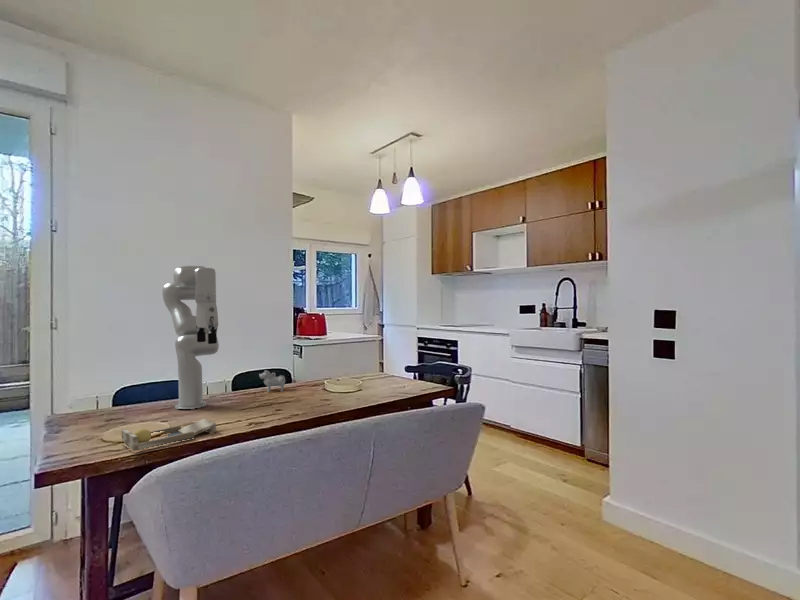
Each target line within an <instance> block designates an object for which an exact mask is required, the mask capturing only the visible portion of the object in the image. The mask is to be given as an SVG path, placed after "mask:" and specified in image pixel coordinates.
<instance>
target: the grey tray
mask: <svg viewBox="0 0 800 600" xmlns="http://www.w3.org/2000/svg"><path fill="white" fill-rule="evenodd" d="M181 428H182V426H181V425H174V426H169V427H165V428H160V429H156V430H152V431H150V433H153V432H160V431H165V434H167V433H172V432H177V430H179V429H181ZM134 434H135V433H132V432H131V431H129V430H127V429H121V440H122V439H123V442H124V443H125V444H126V445H127V446H128V447H130V448H131V449H132V450H134V451H135V450H140V449H144V448H149V447H154V446H157V445H161V444H166V443H170V442H174V441H180V440H183V439H184V440H185V439H186V440H187V439H192V438H194V439H195V435H194V432H193V431H192V432H187V433H183V434H179V435H174V436H170V437H165V438H161V439H157V440H152V441H148V442H143V443H139V444H138V436H136V435H134ZM191 437H192V438H191Z"/></svg>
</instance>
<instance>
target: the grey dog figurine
mask: <svg viewBox="0 0 800 600" xmlns="http://www.w3.org/2000/svg"><path fill="white" fill-rule="evenodd" d="M258 375H259V378H260V379H261V380H263V383H264V385H265V386H267V391H266V392H267V393H270V392H271V388H272V386H273V387H274V386H276V387H280V392H284V387H285V383H286V377H285V375H279V376H276V372H272V373H271V372H270V371H269V370H264V371H263V372H262V373H258Z"/></svg>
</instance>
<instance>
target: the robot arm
mask: <svg viewBox="0 0 800 600" xmlns="http://www.w3.org/2000/svg"><path fill="white" fill-rule="evenodd" d="M216 275H217V274H216V269H215V268H212V267H206V266H203V265H180V266H178V267H176V268H174V271H173V282H172V281H171V282H168V283H165V284H164V285H163V287H162V291H161V293H162V300H163V302H164V305H165V307H166V309H167V310H168V311H169V314H170V315H171V319H172V323H173V327H174V331H175V333H176V336H178V338H176V339H175V342H174V343H175V345H174V346H175V353H176V358H177V359H176V360H177V373H178V376H177V377H178V381H177V382H178V403H177V404H175V405H174V409H175V410H178V409H191V410H196V409H195V408H198V409H202V408H204V407H206V406H207V401H206V400H203V367H202V363H201V362H200V361H199V360H198V359H197V358H196V357H198V356H199V357H200V356H209V355H210V356H211V355H215V354H217V353H218V350H219V346H220V345H219V338H218V335H217V333H218V327H219V314H218V307H217V306H218V305H217V279H216V277H217V276H216ZM194 300H195V304H196V309H195V310H196V311H195V315H193V313H192V310H191V308H190V307H189V306H188V305H187V304H186V303H185V302H183V301H194ZM201 407H202V408H201Z"/></svg>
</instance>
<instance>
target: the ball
mask: <svg viewBox="0 0 800 600" xmlns="http://www.w3.org/2000/svg"><path fill="white" fill-rule="evenodd" d="M150 432H151V431H150V430H149V429H148V428H139V429H137V430H136V432H135V433H133V434H134V435H136V436H138V444H139V443H143V442H148V441H149V440H150V438H151V433H150Z"/></svg>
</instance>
